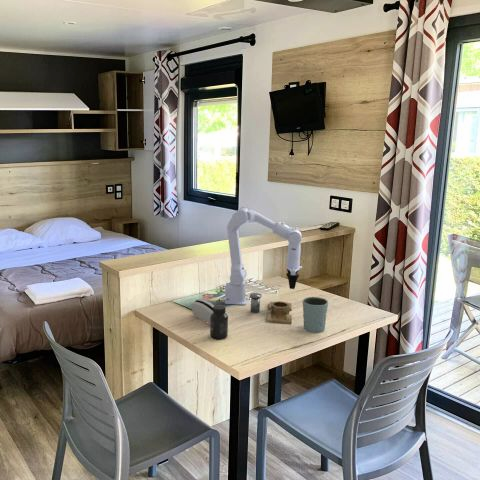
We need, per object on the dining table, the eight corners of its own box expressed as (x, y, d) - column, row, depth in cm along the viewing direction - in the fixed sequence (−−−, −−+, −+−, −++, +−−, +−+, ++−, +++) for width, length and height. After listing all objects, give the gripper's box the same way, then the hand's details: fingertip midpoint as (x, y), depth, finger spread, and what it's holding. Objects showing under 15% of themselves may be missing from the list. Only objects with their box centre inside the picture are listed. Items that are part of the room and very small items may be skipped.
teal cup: (331, 331, 198) (333, 303, 195) (310, 335, 193) (312, 306, 190) (316, 322, 206) (318, 295, 204) (296, 326, 202) (297, 298, 199)
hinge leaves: (267, 322, 205) (267, 313, 204) (269, 303, 227) (270, 295, 226) (291, 323, 204) (291, 314, 203) (291, 305, 226) (291, 296, 225)
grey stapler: (227, 324, 201) (221, 304, 197) (218, 331, 199) (212, 311, 194) (202, 312, 213) (196, 293, 209) (194, 318, 211) (188, 299, 207)
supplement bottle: (207, 334, 191) (207, 305, 188) (222, 331, 194) (223, 303, 191) (214, 341, 185) (215, 311, 182) (230, 338, 188) (231, 308, 186)
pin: (248, 313, 214) (249, 296, 213) (249, 309, 219) (250, 292, 218) (260, 314, 214) (261, 297, 212) (261, 309, 219) (261, 293, 217)
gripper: (303, 261, 212) (301, 291, 215) (302, 253, 226) (300, 281, 229) (286, 260, 212) (285, 290, 215) (286, 252, 226) (285, 280, 229)
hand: (291, 286), depth 222 cm, fingers open, 7 cm apart
